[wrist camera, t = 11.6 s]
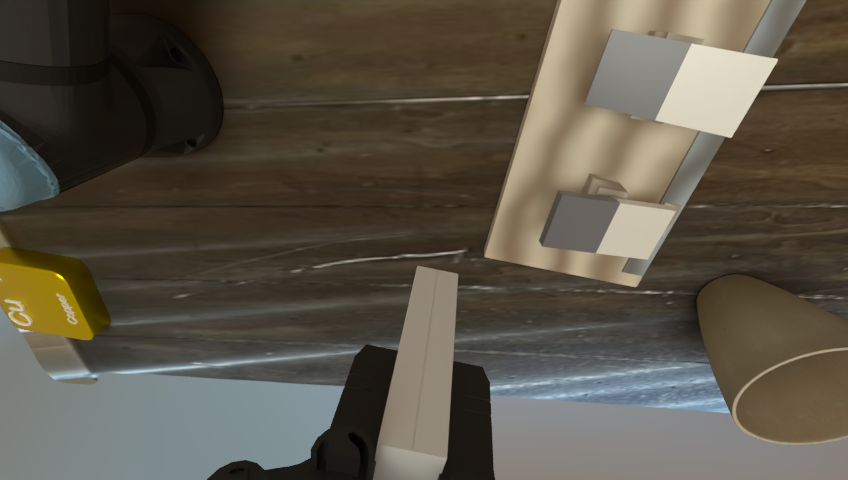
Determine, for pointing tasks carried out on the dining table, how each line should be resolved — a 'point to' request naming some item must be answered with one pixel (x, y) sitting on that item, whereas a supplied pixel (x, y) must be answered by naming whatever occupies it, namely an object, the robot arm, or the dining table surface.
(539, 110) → the switch console
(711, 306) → the plant pot
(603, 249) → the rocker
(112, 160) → the robot arm
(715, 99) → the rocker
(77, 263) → the element tile
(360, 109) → the dining table surface
